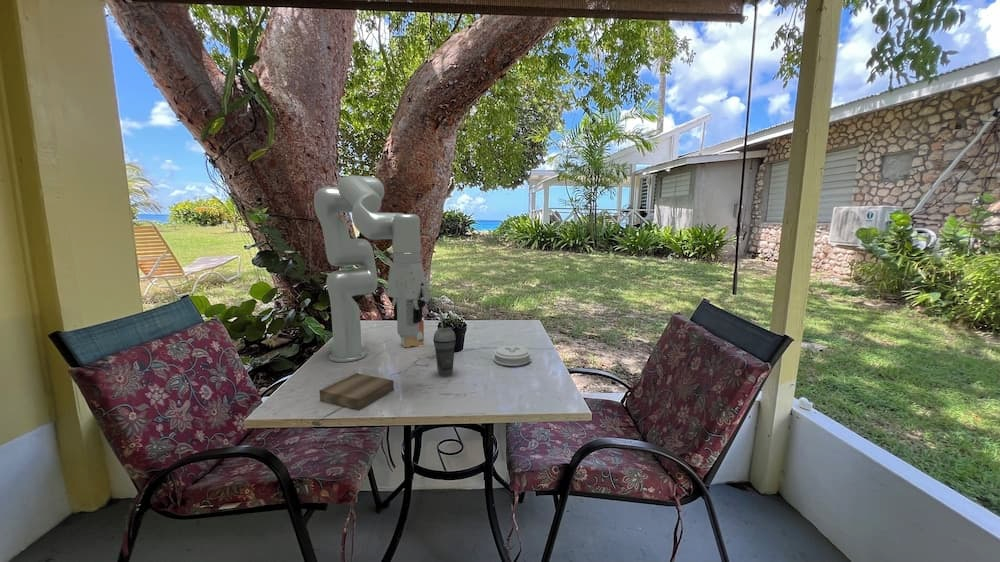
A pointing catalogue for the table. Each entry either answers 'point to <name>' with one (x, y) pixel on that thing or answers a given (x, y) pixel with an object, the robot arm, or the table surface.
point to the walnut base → (357, 391)
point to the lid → (512, 355)
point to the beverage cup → (444, 349)
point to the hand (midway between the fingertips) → (408, 320)
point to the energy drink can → (406, 317)
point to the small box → (415, 340)
